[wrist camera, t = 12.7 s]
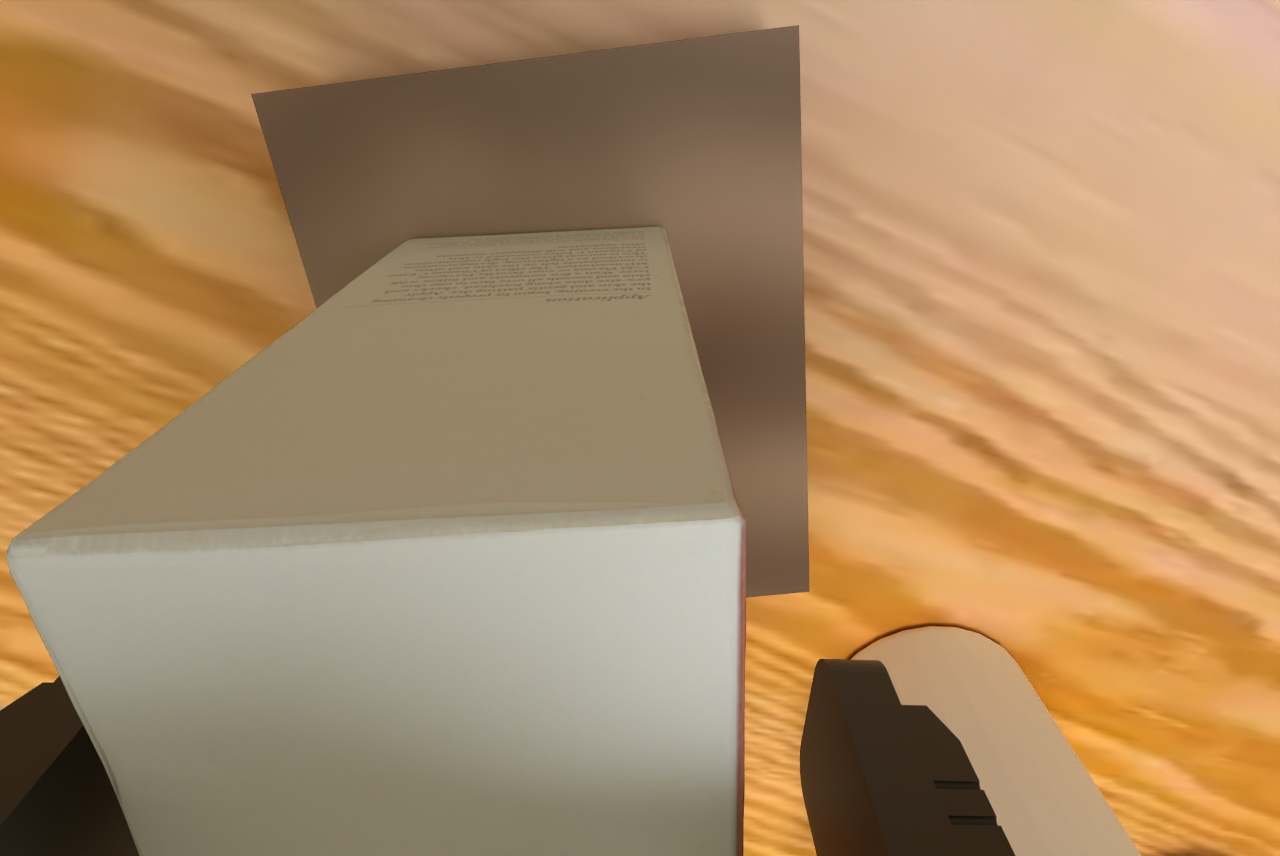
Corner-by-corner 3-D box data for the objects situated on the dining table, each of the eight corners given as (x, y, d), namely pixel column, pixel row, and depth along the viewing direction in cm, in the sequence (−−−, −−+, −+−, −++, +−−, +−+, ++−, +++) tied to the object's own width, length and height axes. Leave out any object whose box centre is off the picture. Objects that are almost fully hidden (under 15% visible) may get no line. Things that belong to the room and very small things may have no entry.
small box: (680, 510, 21) (746, 1063, 9) (455, 521, 21) (242, 1085, 9) (671, 216, 18) (757, 513, 6) (402, 230, 18) (-46, 553, 6)
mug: (893, 593, 28) (1026, 863, 18) (1061, 663, 29) (1264, 945, 20) (736, 797, 33) (777, 1096, 23) (888, 848, 34) (985, 1147, 25)
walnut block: (334, 88, 21) (251, 94, 16) (763, 35, 20) (798, 25, 16) (451, 536, 27) (415, 628, 23) (780, 504, 27) (809, 591, 22)
